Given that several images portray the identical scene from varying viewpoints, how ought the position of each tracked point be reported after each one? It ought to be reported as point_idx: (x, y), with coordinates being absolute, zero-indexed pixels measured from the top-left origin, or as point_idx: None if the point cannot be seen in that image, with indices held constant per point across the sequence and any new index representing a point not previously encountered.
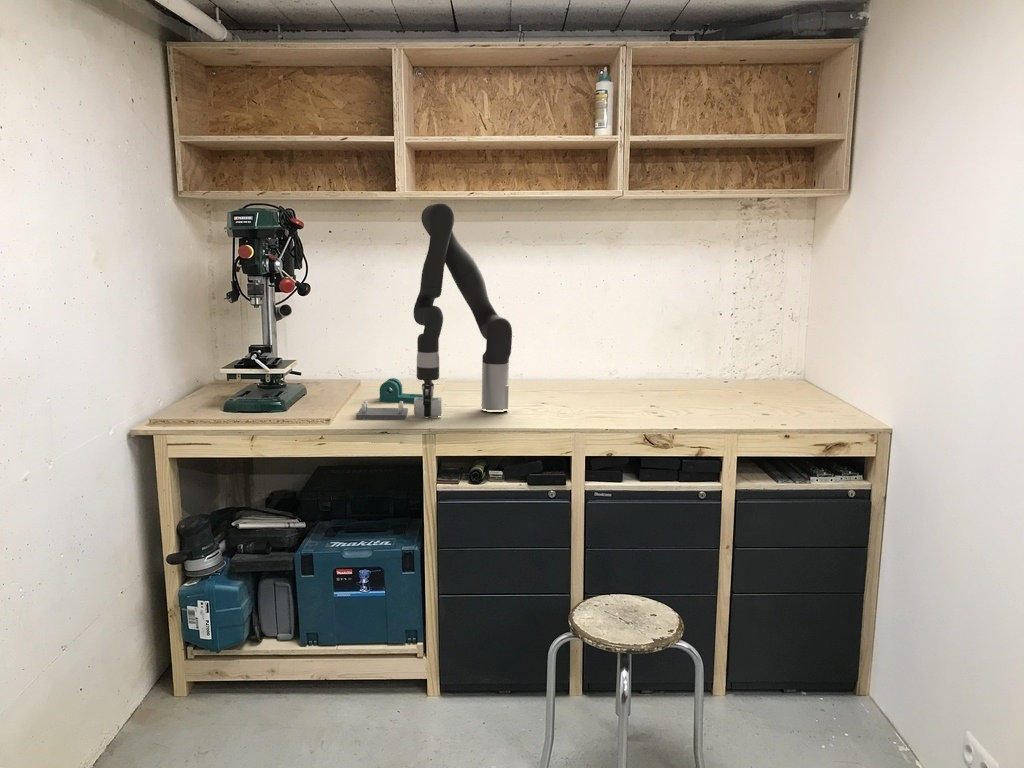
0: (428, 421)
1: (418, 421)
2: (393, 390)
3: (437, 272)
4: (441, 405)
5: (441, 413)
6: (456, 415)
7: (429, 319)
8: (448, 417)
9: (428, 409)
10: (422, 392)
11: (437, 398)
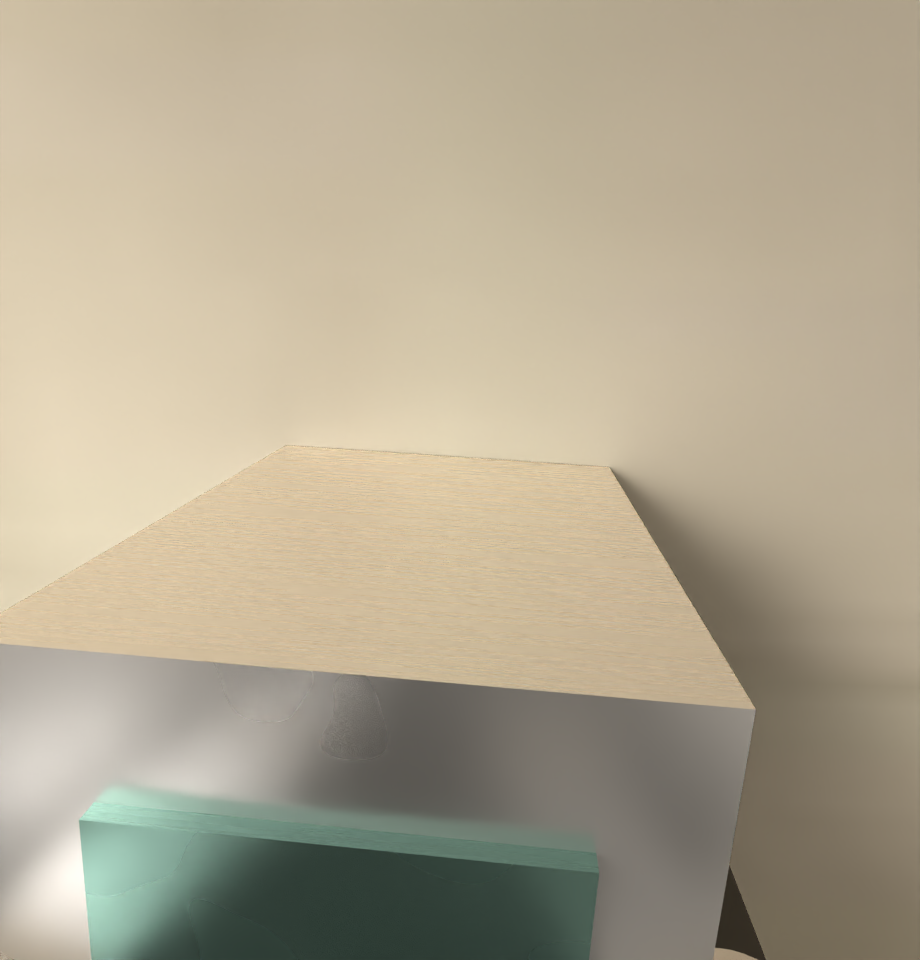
0: (904, 749)
1: (870, 932)
2: None
3: None
4: (257, 521)
5: (303, 455)
6: (339, 39)
7: None
8: (556, 275)
9: (737, 924)
10: None
11: (299, 888)
